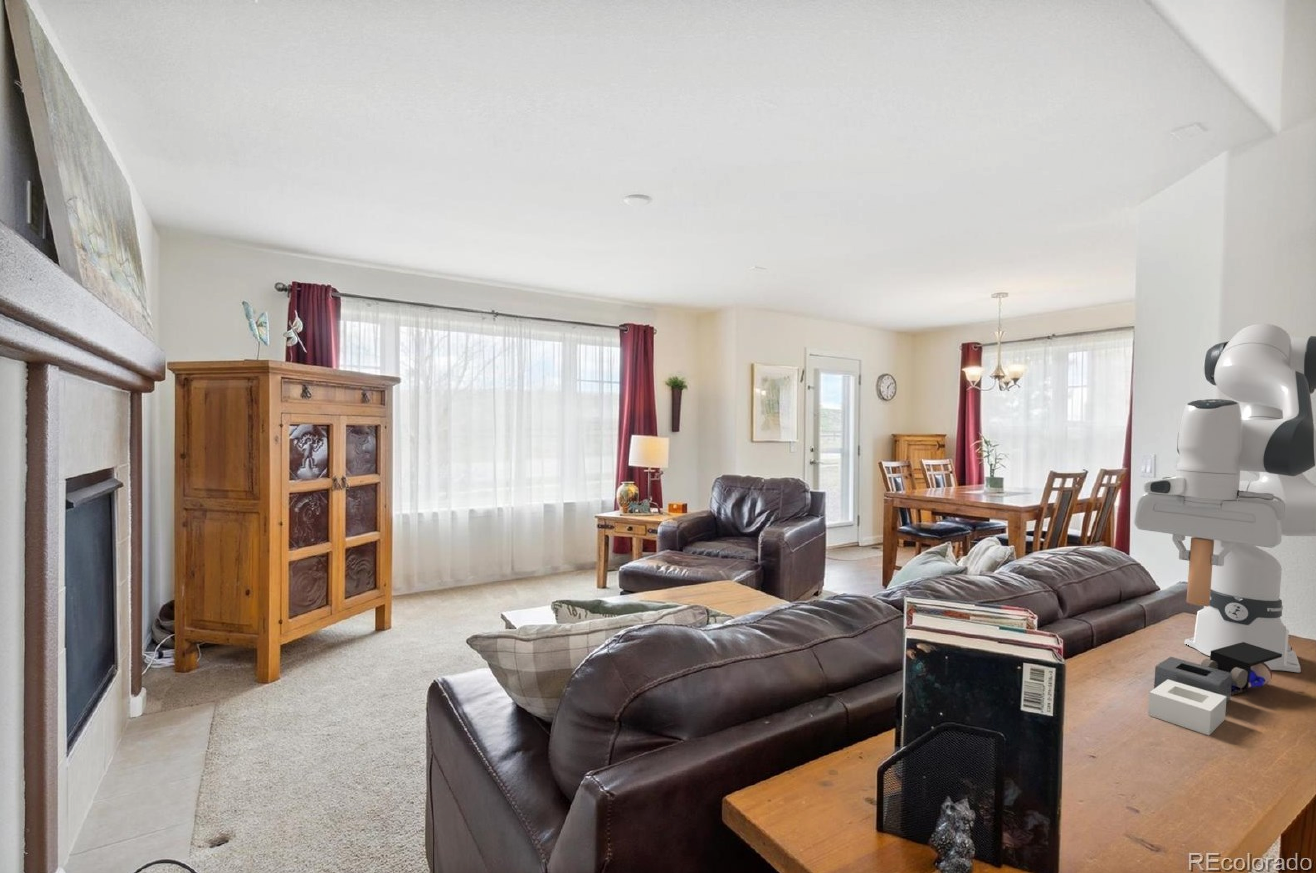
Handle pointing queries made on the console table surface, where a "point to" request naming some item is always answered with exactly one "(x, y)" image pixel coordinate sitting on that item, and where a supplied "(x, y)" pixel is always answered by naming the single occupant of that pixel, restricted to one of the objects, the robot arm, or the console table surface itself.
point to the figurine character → (1243, 664)
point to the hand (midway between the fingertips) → (1200, 562)
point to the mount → (1194, 676)
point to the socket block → (1187, 706)
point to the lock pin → (1200, 571)
